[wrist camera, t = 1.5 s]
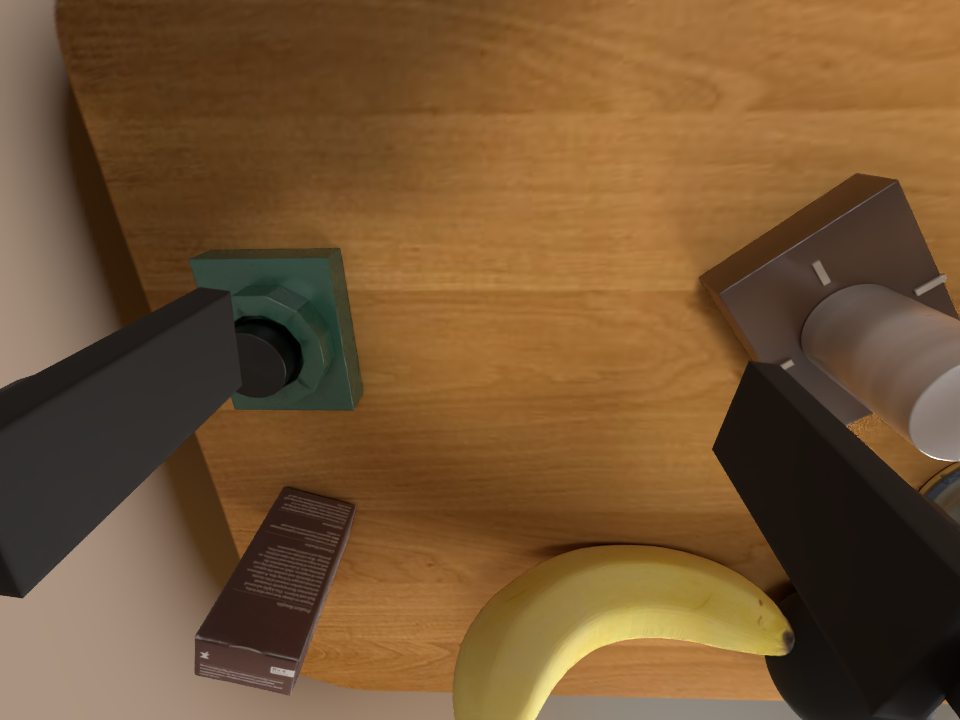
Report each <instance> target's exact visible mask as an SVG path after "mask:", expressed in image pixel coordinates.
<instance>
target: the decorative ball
mask: <svg viewBox="0 0 960 720" xmlns="http://www.w3.org/2000/svg"><path fill="white" fill-rule="evenodd" d="M777 607H778V608H779V610H780V611H781V613H782V614H783V615H784V617H785V618H786V619H787V620H788V622H789V624H790V626H791V628H792V629H793V632H794V637H795V638H794V639H795V642H794V646H793V649H792V650H791V651H790V653H788V654H786V655H783V656H777V655H773V656H770V655H765V660H766V664H767V668H768V670H769V673H770V676H771V678H772V680H773V682H774V684H775V686H776V688H777V690H778V691H779V693H780V694H781V696H782V697H783V699H784V700H785V701H786V703H787V704H788V705H789V706H790V707H791V709H792V710H793V711H794V712H795V713H796V714H797V715H798V716H799V717H800V718H801V719H802V720H896V719H888V718H881V717H874V716H871V714H870V712H869V711H868V709H867V707H866V706H865V704H864V702H863V701H862V699H861V697H860V696H859V694H858V692H857V691H856V689H855V687H854V686H853V684H852V682H851V681H850V679H849V677H848V676H847V674H846V672H845V671H844V669H843V667H842V666H841V664H840V662H839V661H838V659H837V657H836V656H835V654H834V652H833V650H832V649H831V647H830V645H829V644H828V642H827V640H826V639H825V637H824V635H823V634H822V632H821V630H820V629H819V627H818V625H817V624H816V622H815V620H814V619H813V617H812V615H811V614H810V612H809V610H808V609H807V607H806V605H805V604H804V602H803V600H802V599H801V597H800V595H799V594H798V592H796V593H794V594H792V595H790V596H788V597H787V598H785V599H784V600H782V601H781V602H780V603H779V604H778V605H777ZM936 710H937V708H936V709H935V710H934V711H933V712H932V713H931V714H930V715H929V716H928V717H927V719H926V720H934V717H935V714H936Z"/></svg>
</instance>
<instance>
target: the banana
mask: <svg viewBox="0 0 960 720" xmlns="http://www.w3.org/2000/svg"><path fill="white" fill-rule="evenodd" d="M636 638H667V639H678V640H685V641H692V642H697V643H701V644H705V645H709V646H713V647H717V648H722V649H727V650H733V651H739V652H746V653H753V654H760V655H770V656H773V655H777V656H783V655H786V654H788V653H790V651H791V650H792V649H793V646H794V642H795V639H794V638H795V637H794V632H793V629H792V628H791V626H790V624H789V622H788V620H787V619H786V618H785V617H784V615H783V614H782V613H781V611H780V610H779V608H778V607H777V606H776V604H775V603H774V602H773V601H772V600H771V599H770V598H769V597H768V596H767V595H766V594H765V593H764V592H763V591H762V590H761V589H759V588H758V587H757V586H756V585H754V584H753V583H752V582H750V581H749V580H748V579H746V578H745V577H743V576H741V575H740V574H738V573H736V572H735V571H733V570H731V569H729V568H727V567H725V566H723V565H721V564H719V563H716V562H714V561H711V560H709V559H706V558H703V557H700V556H696V555H693V554H690V553H686V552H683V551H678V550H673V549H668V548H662V547H655V546H644V545H608V546H596V547H588V548H581V549H577V550H573V551H570V552H567V553H563V554H560V555H558V556H555V557H553V558H550V559H548V560H546V561H544V562H542V563H540V564H538V565H537V566H535V567H533V568H531V569H530V570H528V571H527V572H525V573H524V574H522V575H520V576H519V577H517V578H516V579H514V580H513V581H512V582H510V583H509V584H508V585H507V586H505V587H504V588H503V589H501V590H500V591H499V592H498V593H497V594H495V595H494V596H493V597H492V598H491V599H490V600H489V601H488V602H487V604H486V605H485V606H484V607H483V608H482V609H481V611H480V612H479V614H478V615H477V617H476V618H475V619H474V621H473V622H472V624H471V625H470V627H469V629H468V631H467V633H466V634H465V637H464V639H463V641H462V643H461V646H460V650H459V653H458V657H457V661H456V666H455V671H454V680H453V707H454V716H455V720H535V719H536V717H537V715H538V713H539V712H540V709H541V708H542V706H543V704H544V703H545V701H546V699H547V697H548V695H549V694H550V692H551V691H552V689H553V688H554V686H555V685H556V683H557V682H558V681H559V680H560V679H561V678H562V676H563V675H564V674H565V673H566V672H567V671H568V670H569V669H570V668H571V667H572V666H573V665H574V664H575V663H576V662H578V661H579V660H580V659H581V658H583V657H584V656H586V655H587V654H588V653H590V652H591V651H593V650H595V649H597V648H599V647H602V646H604V645H608V644H611V643H614V642H618V641H622V640H627V639H636Z"/></svg>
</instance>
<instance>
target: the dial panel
mask: <svg viewBox="0 0 960 720" xmlns="http://www.w3.org/2000/svg"><path fill="white" fill-rule="evenodd" d="M699 279H700V281H701V282H702V284H703V285H704V287H705V288H706V290H707V291H708V293H709V295H710V296H711V298H712V299H713V301H714V302H715V304H716V305H717V307H718V308H719V310H720V311H721V313H722V314H723V316H724V318H725V319H726V321H727V322H728V324H729V325H730V327H731V328H732V330H733V331H734V333H735V334H736V336H737V338H738V339H739V341H740V342H741V344H742V345H743V347H744V348H745V350H746V351H747V353H748V354H749V356H750V357H751V359H752V361H754V362H761V363H769V364H776V365H780V366H781V367H782V368H783V369H784V370H785V371H787V372H788V373H789V374H790V375H791V376H792V377H793V378H794V379H795V380H796V381H797V382H798V383H800V384H801V385H802V386H803V387H804V388H805V389H806V390H807V391H808V392H809V393H810V394H811V395H812V396H814V397H815V398H816V399H817V400H818V401H819V402H820V403H821V404H822V405H823V406H824V407H825V408H827V409H828V410H829V411H830V412H831V413H832V414H833V415H834V416H835V417H836V418H837V419H838V420H839V421H841V422H842V423H843V424H844V425H845V426H847V425H849V424H851V423H853V422H855V421H857V420H859V419H861V418H863V417H865V416H867V415H869V414H871V413H873V412H871V411H870V410H869V409H868V408H867V407H865V406H864V405H863V404H862V403H860V402H859V401H858V400H857V399H856V398H854V397H853V396H852V395H851V394H849V393H848V392H847V391H846V390H845V389H843V388H842V387H841V386H840V385H839V384H837V383H836V382H835V381H834V380H832V379H831V378H830V377H829V376H828V375H826V374H825V373H824V372H823V371H821V370H820V369H819V368H818V367H817V366H815V365H814V364H813V363H812V362H811V361H810V360H809V359H808V358H807V357H806V355H805V354H804V351H803V348H802V343H801V335H802V330H803V327H804V324H805V322H806V320H807V318H808V317H809V315H810V314H811V312H812V311H813V310H814V309H815V308H816V307H817V306H818V305H819V304H820V303H821V302H822V301H823V300H824V299H826V298H827V297H829V296H830V295H832V294H833V293H835V292H837V291H839V290H842V289H844V288H847V287H850V286H854V285H859V284H876V285H881V286H884V287H887V288H889V289H891V290H893V291H896V292H898V293H900V294H902V295H904V296H907V297H909V298H911V299H913V300H915V301H917V302H920V303H922V304H924V305H926V306H928V307H931V308H933V309H935V310H937V311H939V312H942V313H944V314H946V315H948V316H950V317H953V318H955V319H957V320H959V321H960V319H959V317H958V314H957V312H956V310H955V308H954V305H953V303H952V301H951V299H950V296H949V294H948V292H947V290H946V287H945V285H944V283H943V282H944V281H946V280H948V279H947V277H946V275H945V274H941V275H940V274H939V271H938V269H937V267H936V265H935V262H934V260H933V258H932V256H931V253H930V251H929V249H928V247H927V244H926V242H925V240H924V238H923V235H922V233H921V231H920V229H919V226H918V224H917V222H916V219H915V217H914V215H913V213H912V210H911V208H910V206H909V204H908V201H907V199H906V197H905V195H904V192H903V190H902V188H901V186H900V183H899V181H898V180H896V179H890V178H884V177H878V176H871V175H865V174H859V173H857V174H855V175H854V176H852V177H851V178H849V179H848V180H846V181H845V182H843V183H842V184H840V185H839V186H837V187H836V188H834V189H832V190H831V191H829V192H828V193H826V194H825V195H823V196H822V197H820V198H819V199H817V200H816V201H814V202H813V203H811V204H810V205H808V206H807V207H805V208H804V209H802V210H801V211H799V212H798V213H796V214H794V215H793V216H791V217H790V218H788V219H787V220H785V221H784V222H782V223H781V224H779V225H778V226H776V227H775V228H773V229H772V230H770V231H769V232H767V233H766V234H764V235H763V236H761V237H760V238H758V239H756V240H755V241H753V242H752V243H750V244H749V245H747V246H746V247H744V248H743V249H741V250H740V251H738V252H737V253H735V254H734V255H732V256H731V257H729V258H728V259H726V260H725V261H723V262H722V263H720V264H719V265H717V266H715V267H714V268H712V269H711V270H709V271H708V272H706V273H705V274H703V275H702V276H700V277H699Z"/></svg>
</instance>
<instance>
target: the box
mask: <svg viewBox="0 0 960 720" xmlns="http://www.w3.org/2000/svg"><path fill="white" fill-rule="evenodd" d="M355 511H356V506H355V505H352V504H347V503H343V502H340V501H336V500H332V499H328V498H324V497H320V496H317V495H313V494H309V493H305V492H302V491H298V490H294V489H291V488H287V487H283V489H282V491H281V493H280V494H279V496H278V498H277V499H276V501H275V503H274V504H273V506H272V508H271V509H270V511H269V513H268V515H267V516H266V518H265V519H264V521H263V523H262V525H261V526H260V528H259V530H258V531H257V533H256V535H255V536H254V538H253V540H252V541H251V543H250V545H249V546H248V548H247V550H246V552H245V553H244V555H243V557H242V558H241V560H240V562H239V563H238V565H237V567H236V569H235V570H234V572H233V574H232V576H231V577H230V579H229V581H228V582H227V584H226V586H225V587H224V589H223V591H222V593H221V594H220V596H219V597H218V599H217V601H216V602H215V604H214V606H213V607H212V609H211V611H210V612H209V614H208V616H207V617H206V619H205V621H204V622H203V624H202V626H201V627H200V629H199V631H198V632H197V634H196V635H195V675H198V676H203V677H208V678H213V679H217V680H222V681H228V682H232V683H237V684H241V685H246V686H250V687H254V688H259V689H264V690H268V691H272V692H277V693H281V694H285V695H289V696H290V695H291V693H292V691H293V688H294V685H295V683H296V680H297V678H298V675H299V672H300V670H301V667H302V664H303V662H304V659H305V656H306V653H307V651H308V648H309V645H310V642H311V640H312V637H313V634H314V631H315V629H316V626H317V623H318V620H319V618H320V615H321V612H322V609H323V607H324V604H325V601H326V599H327V596H328V593H329V590H330V587H331V585H332V582H333V579H334V576H335V574H336V571H337V568H338V565H339V563H340V560H341V558H342V555H343V552H344V550H345V547H346V544H347V542H348V539H349V534H350V531H351V527H352V522H353V519H354V515H355Z"/></svg>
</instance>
